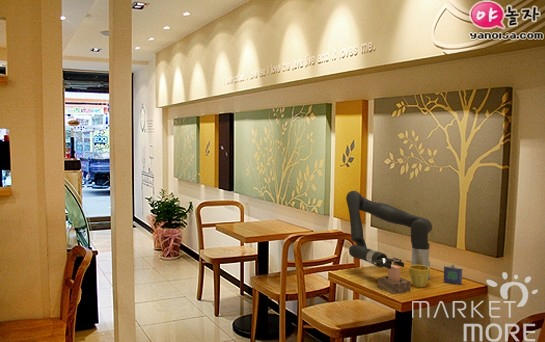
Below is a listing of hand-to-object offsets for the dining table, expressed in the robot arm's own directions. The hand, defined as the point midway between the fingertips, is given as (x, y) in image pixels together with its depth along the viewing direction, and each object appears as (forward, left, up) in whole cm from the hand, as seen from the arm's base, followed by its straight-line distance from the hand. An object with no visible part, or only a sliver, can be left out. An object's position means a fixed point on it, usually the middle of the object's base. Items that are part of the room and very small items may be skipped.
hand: (397, 266), depth 242 cm
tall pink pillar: (0, -2, -12) cm, 13 cm away
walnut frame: (0, -2, -12) cm, 13 cm away
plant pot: (-16, -1, -13) cm, 20 cm away
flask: (-35, +4, -13) cm, 37 cm away
